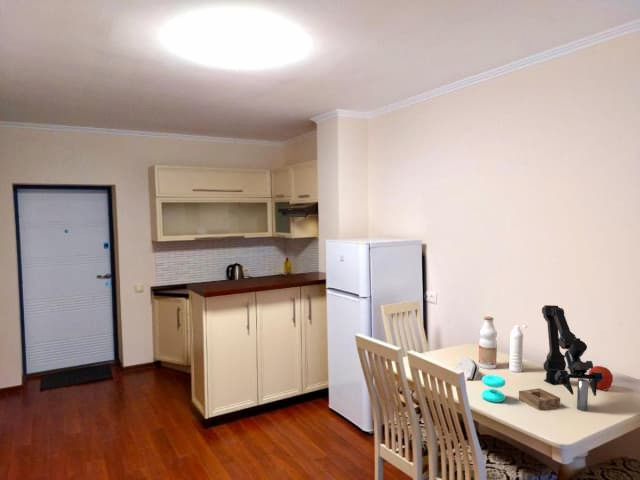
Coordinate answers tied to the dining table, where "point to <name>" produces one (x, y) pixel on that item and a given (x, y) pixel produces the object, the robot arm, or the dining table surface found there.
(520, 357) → the water bottle
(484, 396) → the donuts
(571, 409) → the dining table surface
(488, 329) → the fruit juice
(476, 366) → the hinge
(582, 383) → the steel pin
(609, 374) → the apple
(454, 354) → the dining table surface
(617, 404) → the dining table surface
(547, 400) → the block
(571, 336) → the robot arm
